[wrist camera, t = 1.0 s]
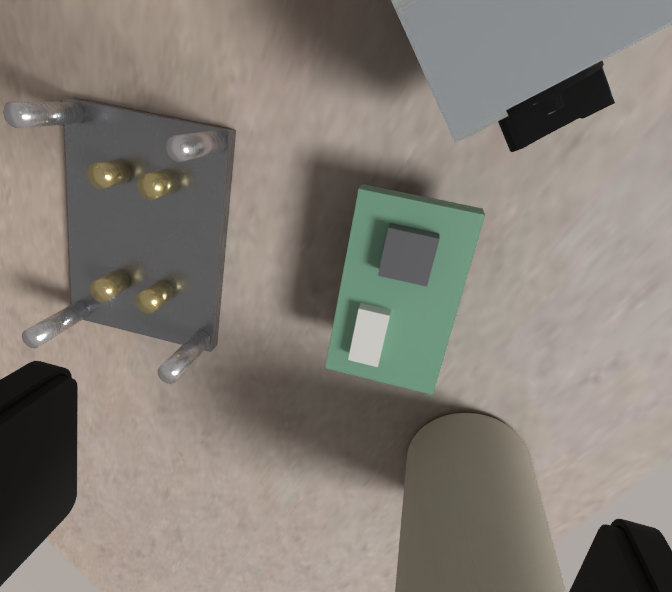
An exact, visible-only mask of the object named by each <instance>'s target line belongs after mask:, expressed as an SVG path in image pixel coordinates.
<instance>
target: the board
mask: <svg viewBox="0 0 672 592" xmlns="http://www.w3.org/2000/svg"><path fill="white" fill-rule="evenodd" d="M484 217H485V214H484V211H483V209H482V208H477V207H472V206H467V205H462V204H457V203H453V202H448V201H443V200H438V199H433V198H428V197H424V196H419V195H414V194H409V193H404V192H399V191H394V190H390V189H385V188H380V187H375V186H370V185H365V184H363V185H362V186H361V187H360V188H359V190H358V195H357V200H356V206H355V211H354V216H353V222H352V227H351V232H350V238H349V243H348V248H347V254H346V259H345V264H344V270H343V275H342V280H341V286H340V291H339V297H338V302H337V307H336V313H335V318H334V323H333V329H332V334H331V339H330V345H329V350H328V355H327V361H326V366H325V368H326V369H331V370H335V371H339V372H343V373H347V374H351V375H355V376H359V377H363V378H367V379H371V380H375V381H379V382H383V383H387V384H391V385H395V386H399V387H403V388H407V389H411V390H415V391H419V392H423V393H427V394H431V395H433V392H434V389H435V385H436V382H437V378H438V375H439V372H440V368H441V365H442V361H443V358H444V354H445V351H446V347H447V344H448V341H449V337H450V334H451V330H452V327H453V323H454V320H455V316H456V313H457V310H458V306H459V303H460V299H461V296H462V292H463V289H464V286H465V282H466V279H467V275H468V272H469V268H470V265H471V261H472V258H473V255H474V251H475V248H476V244H477V241H478V237H479V234H480V231H481V227H482V224H483V220H484Z"/></svg>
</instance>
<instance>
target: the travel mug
mask: <svg viewBox="0 0 672 592" xmlns="http://www.w3.org/2000/svg"><path fill="white" fill-rule="evenodd" d="M395 592H566V590H565V586H564V583H563V579H562V575H561V571H560V567H559V563H558V560H557V556H556V552H555V548H554V544H553V540H552V537H551V533H550V529H549V525H548V521H547V518H546V514H545V510H544V506H543V502H542V498H541V495H540V491H539V487H538V483H537V479H536V475H535V472H534V468H533V464H532V460H531V456H530V453H529V450H528V448H527V446H526V444H525V442H524V441H523V440H522V438H521V437H520V436H519V435H518V434H517V433H516V432H515V431H514V430H513V429H512V428H511V427H509V426H508V425H506V424H505V423H503V422H501V421H499V420H497V419H494V418H492V417H489V416H485V415H481V414H475V413H456V414H450V415H446V416H443V417H440V418H437V419H435V420H433V421H431V422H429V423H428V424H426V425H425V426H424V427H422V428H421V429H420V430H419V431H418V432H417V434H416V435H415V436H414V438H413V439H412V441H411V443H410V445H409V448H408V452H407V461H406V472H405V484H404V496H403V507H402V519H401V530H400V542H399V554H398V565H397V577H396V588H395Z"/></svg>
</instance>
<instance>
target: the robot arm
mask: <svg viewBox="0 0 672 592" xmlns="http://www.w3.org/2000/svg"><path fill="white" fill-rule="evenodd" d="M76 496H77V382H76V380H74V379H72V377H71V373H70V371H69V370H68V369H66V368H63V367H59V366H56V365H52V364H48V363H45V362H41V361H33V362H31V363H28V364H27V365H25V366H23V367H21V368H20V369H18V370H16V371H15V372H13V373H11V374H9V375H8V376H6V377H4V378H3V379H1V380H0V586H1V585H2V584H3V583H4V582H5V581H6V580H7V579H8V578H9V577H10V576H11V575H12V573H13V572H14V571H15V570H16V569H17V568H18V567H19V566H20V565H21V564H22V563H23V562H24V561H25V560H26V559H27V557H29V556H30V554H31V553H32V552H33V551H34V550H35V549H36V548H37V547H38V546H39V545H40V544H41V543H42V542H43V541H44V540H45V539H46V538H47V536H48V535H49V534H50V533H51V532H52V531H53V530H54V529H55V528H56V527H57V526H58V525H59V524H60V523H61V522H62V521H63V520H64V518H65V517H66V516H67V515H68V514H69V513H70V511H71V509H72V508H73V505H74V503H75V500H76ZM569 592H672V550H671V549H670V547H669V545H668V543H667V541H666V540H665V538H664V536H663V535H662V533H661V532H660V531H659V530H657V529H656V528H652V527H649V526H645V525H641V524H638V523H634V522H631V521H627V520H623V519H616V520H614V522H612V524H611V525H602V526H601V527H600V529H599V530H598V532H597V534H596V536H595V538H594V540H593V543H592V545H591V547H590V549H589V551H588V553H587V555H586V557H585V559H584V562H583V564H582V566H581V568H580V570H579V572H578V574H577V576H576V579H575V581H574V583H573V585H572V587H571V589H570V591H569Z"/></svg>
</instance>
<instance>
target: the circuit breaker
mask: <svg viewBox="0 0 672 592" xmlns="http://www.w3.org/2000/svg"><path fill="white" fill-rule="evenodd" d="M391 1H392V3H393V6H394V8H395V10H396V12H397V15H398V17H399V19H400V21H401V23H402V26H403V28H404V30H405V32H406V35H407V37H408V39H409V41H410V43H411V46H412V48H413V50H414V52H415V55H416V57H417V59H418V61H419V63H420V66H421V68H422V70H423V72H424V75H425V77H426V79H427V81H428V83H429V86H430V88H431V90H432V92H433V95H434V97H435V99H436V101H437V103H438V106H439V108H440V110H441V112H442V115H443V117H444V119H445V121H446V123H447V126H448V128H449V130H450V132H451V135H452V137H453V139H454V141H455V143H457V142H459V141H461V140H463V139H465V138H467V137H468V136H470V135H472V134H474V133H476V132H478V131H480V130H482V129H484V128H486V127H488V126H490V125H492V124H493V123H495V122H497V121H498V122H499V125H500V127H501V130H502V132H503V135H504V137H505V140H506V142H507V144H508V147H509V149H510V151H511V152H514V151H517V150H519V149H522V148H524V147H526V146H528V145H529V144H531V143H533V142H535V141H537V140H538V139H540V138H542V137H544V136H546V135H548V134H550V133H552V132H553V131H555V130H557V129H559V128H561V127H563V126H565V125H567V124H569V123H571V122H573V121H574V120H576V119H578V118H585V117H587V116H589V115H591V114H593V113H595V112H597V111H600V110H602V109H604V108H606V107H608V106H610V105H612V104H614V103H615V102H614V99H613V96H612V93H611V90H610V87H609V84H608V82H607V79H606V76H605V73H604V70H603V65H604V64H603V61H602V60H604V59H606V58H608V57H609V56H611V55H613V54H615V53H617V52H619V51H621V50H623V49H625V48H627V47H629V46H631V45H633V44H635V43H636V42H638V41H640V40H642V39H644V38H646V37H648V36H650V35H652V34H654V33H656V32H658V31H660V30H662V29H663V28H665V27H667V26H669V25H671V24H672V0H391Z"/></svg>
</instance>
